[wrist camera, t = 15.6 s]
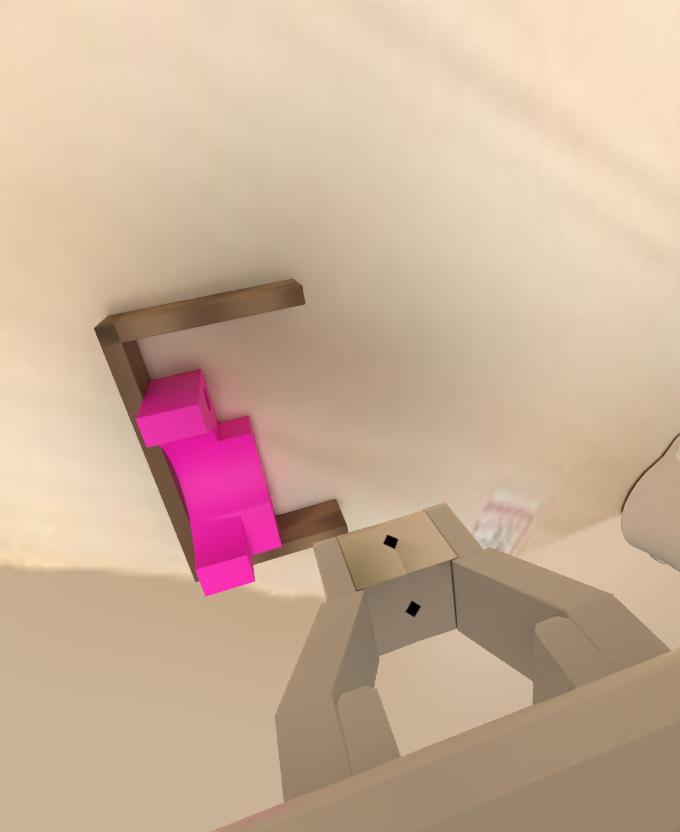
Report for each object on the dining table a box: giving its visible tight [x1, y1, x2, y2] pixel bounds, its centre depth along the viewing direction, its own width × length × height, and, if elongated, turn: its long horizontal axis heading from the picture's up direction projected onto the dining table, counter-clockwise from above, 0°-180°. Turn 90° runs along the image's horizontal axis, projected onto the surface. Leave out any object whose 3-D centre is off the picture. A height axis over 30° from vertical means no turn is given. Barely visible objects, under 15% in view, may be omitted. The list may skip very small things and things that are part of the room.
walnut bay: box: [94, 279, 348, 582], centre depth 35 cm, size 13×21×4 cm, turn 9°
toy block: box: [136, 369, 282, 596], centre depth 34 cm, size 15×6×8 cm, turn 9°
